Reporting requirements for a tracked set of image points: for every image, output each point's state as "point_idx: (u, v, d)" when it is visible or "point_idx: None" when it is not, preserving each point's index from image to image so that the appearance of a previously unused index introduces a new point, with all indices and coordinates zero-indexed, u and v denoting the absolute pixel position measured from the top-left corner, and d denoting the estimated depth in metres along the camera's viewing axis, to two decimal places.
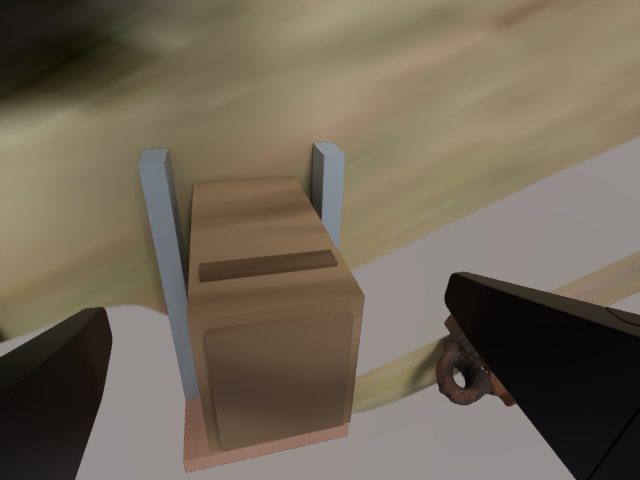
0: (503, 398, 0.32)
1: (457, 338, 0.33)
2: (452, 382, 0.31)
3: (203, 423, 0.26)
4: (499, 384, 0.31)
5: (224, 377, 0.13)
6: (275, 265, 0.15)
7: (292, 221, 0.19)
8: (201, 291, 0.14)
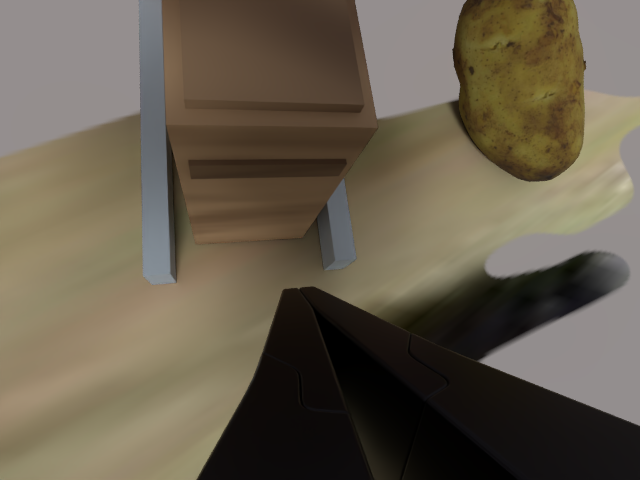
0: None
1: None
2: None
3: None
4: None
5: (341, 49, 0.12)
6: (265, 168, 0.13)
7: (221, 206, 0.16)
8: (350, 151, 0.13)
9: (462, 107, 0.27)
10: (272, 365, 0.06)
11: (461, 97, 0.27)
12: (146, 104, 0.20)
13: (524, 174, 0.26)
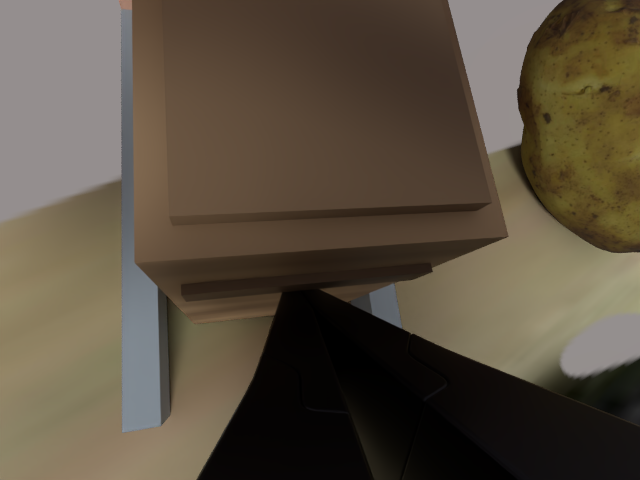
0: None
1: None
2: None
3: None
4: None
5: (444, 101, 0.07)
6: (305, 285, 0.08)
7: (230, 304, 0.11)
8: (442, 257, 0.08)
9: (529, 159, 0.21)
10: (272, 365, 0.06)
11: (527, 147, 0.21)
12: (129, 177, 0.15)
13: (608, 245, 0.21)
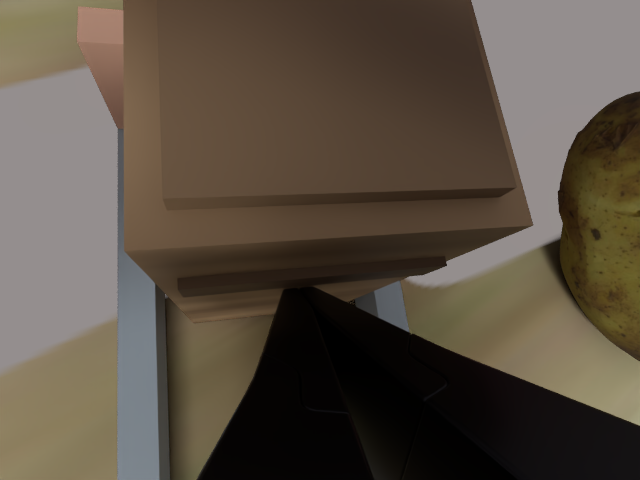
0: None
1: None
2: None
3: None
4: None
5: (464, 79, 0.06)
6: (311, 279, 0.07)
7: (230, 302, 0.11)
8: (458, 249, 0.07)
9: (572, 269, 0.19)
10: (272, 365, 0.06)
11: (569, 255, 0.19)
12: (127, 341, 0.13)
13: None
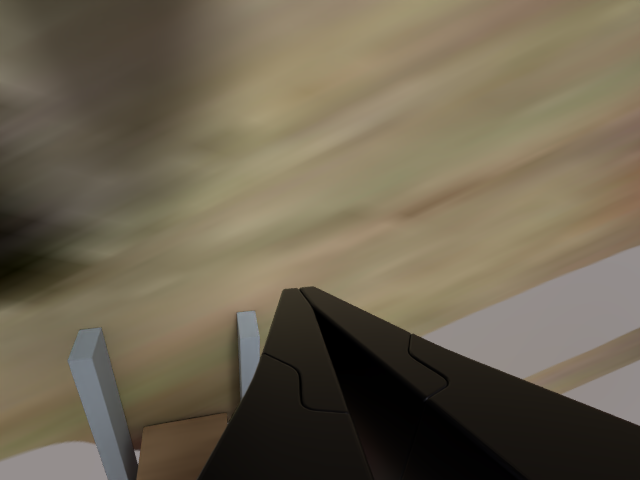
0: None
1: None
2: None
3: None
4: None
5: None
6: None
7: None
8: None
9: None
10: (272, 365, 0.06)
11: None
12: None
13: None
